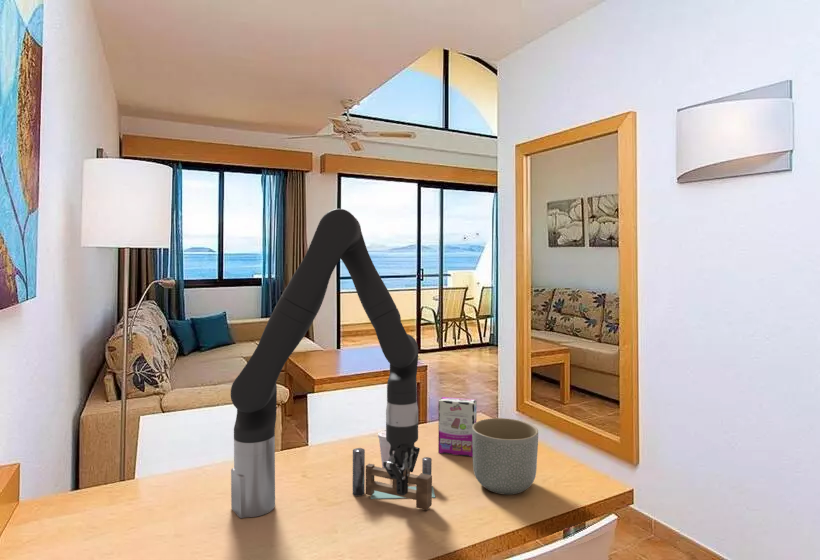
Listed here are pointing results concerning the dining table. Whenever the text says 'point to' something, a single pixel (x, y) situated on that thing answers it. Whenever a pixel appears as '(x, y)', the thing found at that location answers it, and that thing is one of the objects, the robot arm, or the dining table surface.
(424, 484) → the gate
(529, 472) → the planter
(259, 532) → the dining table surface
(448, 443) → the candy bar box
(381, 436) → the smoothie
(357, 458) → the gatepost
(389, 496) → the open mat
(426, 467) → the post
